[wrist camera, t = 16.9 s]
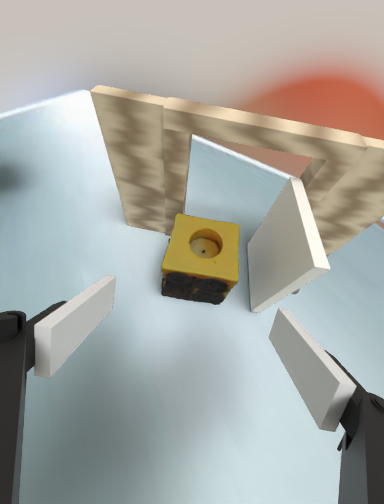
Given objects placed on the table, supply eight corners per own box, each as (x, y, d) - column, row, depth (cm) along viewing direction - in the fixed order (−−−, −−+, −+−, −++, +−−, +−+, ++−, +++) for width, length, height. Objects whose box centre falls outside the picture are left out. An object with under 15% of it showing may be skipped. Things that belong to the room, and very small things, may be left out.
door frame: (316, 252, 40) (444, 150, 21) (319, 264, 38) (461, 165, 20) (132, 216, 40) (99, 83, 21) (127, 227, 38) (87, 92, 19)
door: (247, 244, 38) (290, 177, 25) (260, 247, 38) (311, 180, 25) (251, 311, 31) (314, 266, 17) (267, 313, 31) (344, 271, 17)
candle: (160, 296, 31) (158, 269, 23) (173, 247, 37) (174, 211, 28) (220, 307, 31) (239, 284, 23) (223, 256, 37) (240, 223, 28)
